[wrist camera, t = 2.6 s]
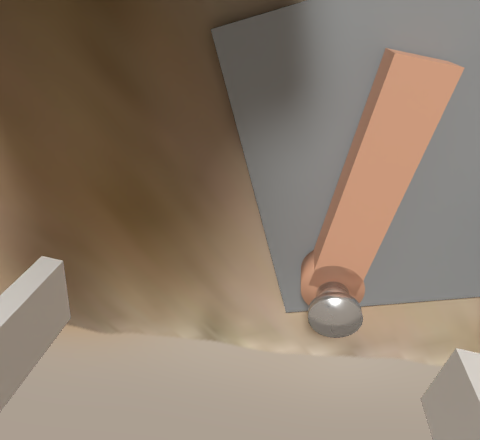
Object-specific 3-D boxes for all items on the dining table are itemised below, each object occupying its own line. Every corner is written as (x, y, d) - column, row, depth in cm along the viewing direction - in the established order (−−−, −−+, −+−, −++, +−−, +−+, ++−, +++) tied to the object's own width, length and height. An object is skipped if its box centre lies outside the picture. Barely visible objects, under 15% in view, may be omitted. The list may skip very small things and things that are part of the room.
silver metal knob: (312, 313, 31) (312, 339, 29) (304, 277, 29) (304, 301, 27) (360, 309, 30) (365, 335, 28) (355, 272, 28) (359, 296, 26)
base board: (286, 307, 37) (286, 312, 36) (213, 28, 25) (210, 29, 24) (593, 281, 30) (599, 286, 30) (696, -117, 18) (708, -121, 18)
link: (349, 297, 34) (352, 319, 31) (294, 284, 34) (293, 305, 32) (457, 62, 23) (475, 70, 21) (376, 45, 23) (384, 50, 21)
